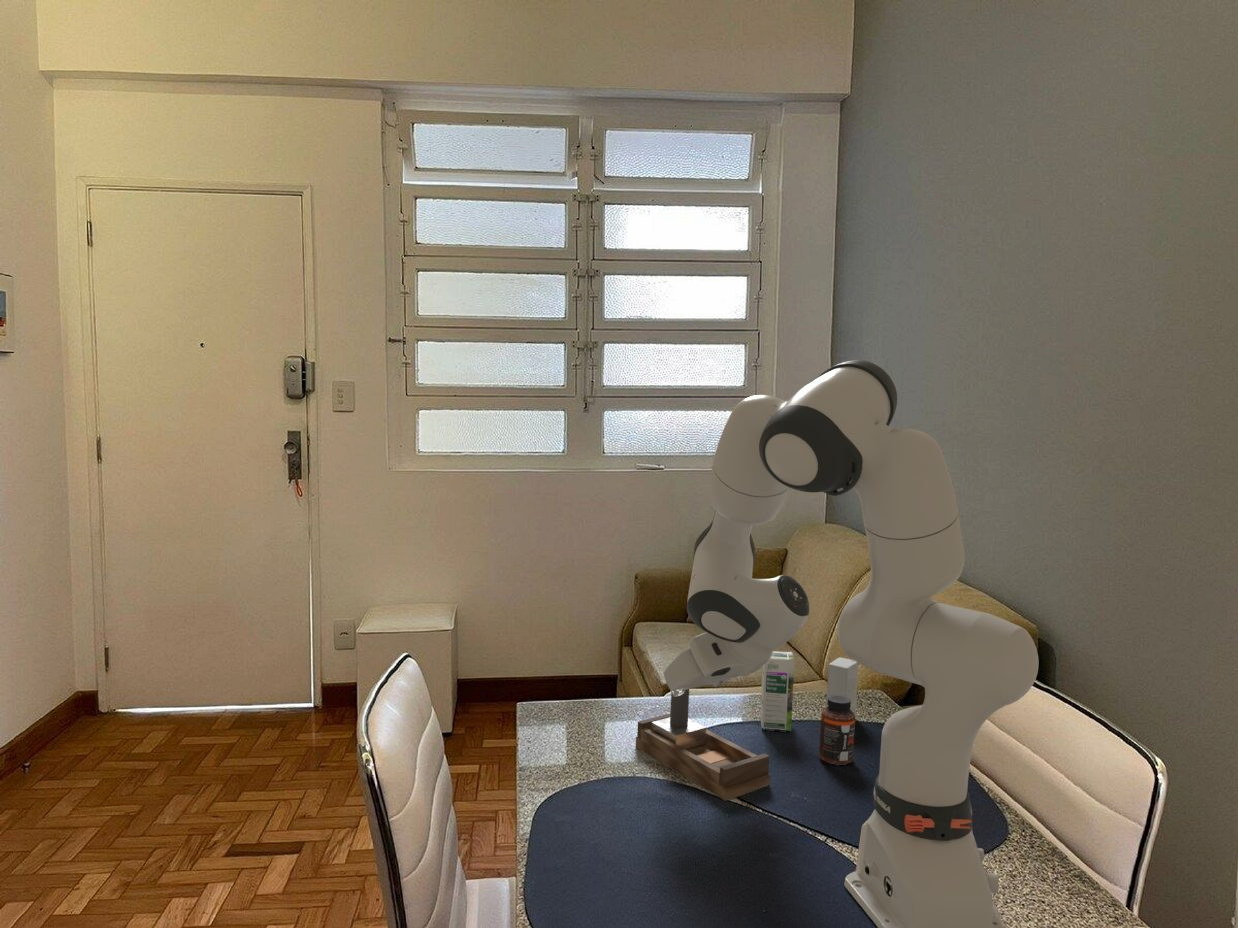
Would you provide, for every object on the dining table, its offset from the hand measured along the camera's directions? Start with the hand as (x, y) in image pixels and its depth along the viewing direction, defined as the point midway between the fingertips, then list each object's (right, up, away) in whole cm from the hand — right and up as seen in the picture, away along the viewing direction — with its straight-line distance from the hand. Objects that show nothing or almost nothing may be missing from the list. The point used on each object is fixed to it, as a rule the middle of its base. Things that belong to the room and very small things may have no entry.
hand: (695, 687), depth 149 cm
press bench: (+1, -14, +2) cm, 14 cm away
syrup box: (+18, -13, +21) cm, 30 cm away
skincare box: (+32, -13, +25) cm, 42 cm away
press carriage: (-3, -11, +6) cm, 13 cm away
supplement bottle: (+26, -15, +6) cm, 30 cm away
